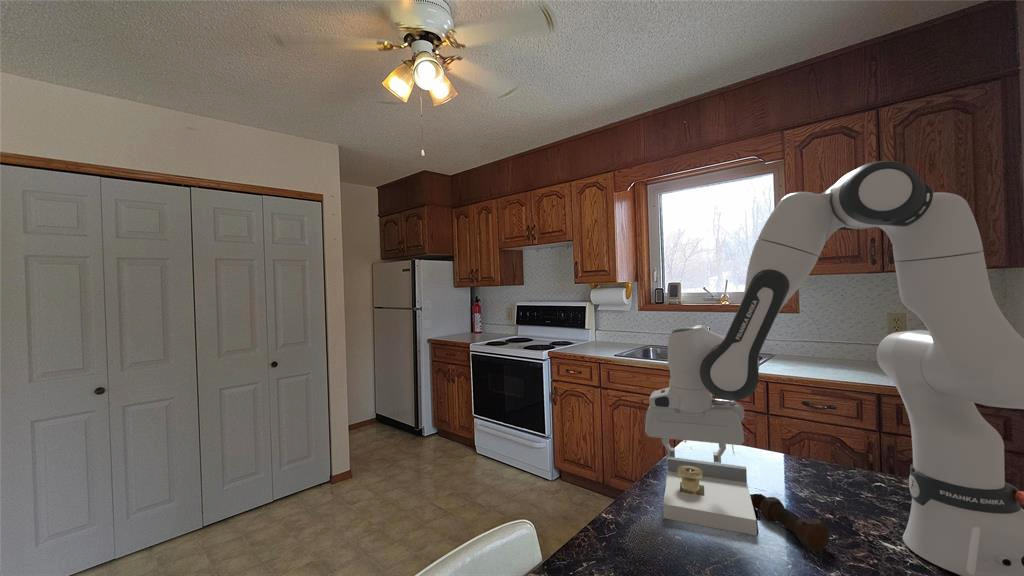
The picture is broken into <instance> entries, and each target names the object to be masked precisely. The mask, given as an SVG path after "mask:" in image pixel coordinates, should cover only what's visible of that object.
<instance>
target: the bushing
mask: <svg viewBox="0 0 1024 576" xmlns="http://www.w3.org/2000/svg"><path fill="white" fill-rule="evenodd" d="M677 471H678V475H679V476H681V477H682V492H683V493H689V494H695V495H700V493H699V479H700V478H702V477H703V471H702V470H701V469H699V468H697V467H693V466H680V467H678V468H677Z"/></svg>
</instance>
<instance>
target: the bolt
mask: <svg viewBox="0 0 1024 576" xmlns="http://www.w3.org/2000/svg"><path fill="white" fill-rule="evenodd" d="M751 501H752V505H753V508H755V509H757V510H758V511H759V512H760V514H761V516H762V517H763V519H765V520H766V521H768V522H769V523H778V524H780V525H781V526H782V527H784V528H785V529H786V530H789V531H790V532H793V534H795V535H796V536H797V538H798V540H799V541H800V544H801V545H802V546H803V548H805V549H806V550H807V551H809V552H821V551H823V550H824V549H826V547H828V545H829V542H830V531H829V529H828V527H827V526H826V524H825V523H823V521H822V520H819V519H818V518H810V519H804V518H803V517H801V516H799V515H797V514H795V513H794V512H793V511H791V510H788V509H787V508H786V507H785V506H784V504H783V503H782V501H781V500H780V499H779V498H777V497H776V496H765V495H763V494H761V493H753V494H752V495H751Z"/></svg>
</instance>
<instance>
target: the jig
mask: <svg viewBox="0 0 1024 576" xmlns="http://www.w3.org/2000/svg"><path fill="white" fill-rule="evenodd" d="M680 466H693V467H697V468H699V469H701V470H702V471H703V477H702V478H700V479H699V493H700V495H695V494H689V493H683V492H682V477H681V476H679V475H678V471H677V468H678V467H680ZM664 489H665V490H664V495H663V503H662V509H663V511H662V512H663V513H662V514H663V519H666V520H672V521H676V522H682V523H686V524H687V523H688V524H692V525H699V526H704V527H707V528H708V527H709V528H715V529H721V530H725V531H730V532H736V533H742V534H746V535H751V536H756V537H757V536H758V533H757V531H758V529H757V518H756V513H755V509H754V506H753V505H752V501H751V498H752V496H751V494H750V490H749V484H748V477H747V466H743V465H742V466H741V465H736V464H727V463H722V462H721V463H714V461H712V462H711V461H705V460H698V459H688V458H681V457H675V458H670V457H668V456H667V475H666V481H665V488H664Z"/></svg>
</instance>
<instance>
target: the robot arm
mask: <svg viewBox="0 0 1024 576" xmlns="http://www.w3.org/2000/svg"><path fill="white" fill-rule="evenodd" d="M877 227H878V228H879V229H881V230H882V231H884V233H885V234H886V235H887V237H888V238H889V240H890V243H891V244H892V254H893V260H894V267H895V273H896V274H895V275H896V280H897V287H898V293H899V297H900V301H901V303H902V305H904V306H905V307H906V309H908V310H909V311H910V312H911V313H913V314H915V315H916V316H917V317H918V318H919V320H921V321H922V323H923V324H924V326H925V328H926V329H927V330H926V329H925V330H924V329H916V330H915V329H913V330H904V331H903V330H902V331H897V332H893V333H890V334H888V335H887V336H885V337H884V338H883V339H882V340H881V341H880V342H879V344H878V346H877V348H876V359H877V360H876V361H877V363H878V365H879V367H880V369H881V370H882V371H883V372H884V374H886V375H887V376H888V377H889V379H890V380H891V381H892V382H893V385H894V386H895V388H896V389H897V392H898V394H899V395H900V398H901V399H902V402H903V406H904V408H905V411H906V413H907V416H908V417H907V418H908V419H909V423H910V431H911V433H910V434H911V445H912V448H911V449H912V463H911V464H910V465H909V466H910V467H909V476H908V478H909V479H908V480H909V481H908V482H909V483H908V484H909V485H908V487H909V492H910V497H911V506H910V513H909V517H908V521H907V525H906V526H905V527H906V528H905V531H904V533H903V534H902V541H903V543H904V544H905V546H907V548H908V549H910V551H912V552H913V553H914V554H916V555H918V556H919V557H921V558H922V559H924V560H926V561H927V562H929V563H932V564H933V565H936V566H938V567H940V568H942V569H944V570H947V571H949V572H951V573H954V574H957V575H959V576H1024V509H1023V508H1022V506H1021V504H1022V505H1023V506H1024V491H1023V490H1022V491H1021V490H1020V489H1019V488H1017V487H1016V486H1014V485H1012V484H1010V483H1009V482H1007V481H1006V479H1005V477H1006V476H1005V475H1006V474H1005V473H1006V472H1005V471H1006V470H1005V444H1004V443H1005V442H1004V439H1003V438H1002V436H1001V434H1000V433H999V432H998V431H997V429H996V428H995V427H994V426H993V425H991V424H990V423H989V422H988V421H986V419H985V418H984V417H983V415H982V414H981V413H980V412H979V410H978V408H977V406H976V405H975V404H978V405H983V406H985V407H994V408H1002V409H1003V408H1004V409H1017V410H1024V338H1023V337H1022V336H1021V335H1020V334H1019V332H1017V331H1016V329H1015V328H1014V327H1013V326H1012V324H1011V323H1010V322H1009V321H1008V320H1007V318H1006V316H1005V315H1004V314H1003V313H1002V310H1001V309H1000V307H999V305H998V304H997V302H996V299H995V297H994V295H993V291H992V289H991V284H990V279H989V275H988V269H987V264H986V258H985V252H984V246H983V242H982V237H981V234H980V230H979V227H978V224H977V221H976V219H975V216H974V213H973V211H972V209H971V207H970V205H969V203H968V201H967V200H966V199H965V198H964V197H962V196H961V195H959V194H955V193H953V192H952V193H951V192H945V191H944V192H940V191H939V192H934V191H933V189H932V188H931V187H930V186H928V185H927V183H926V182H924V181H923V180H922V179H921V177H920V176H919V175H918V174H917V173H916V172H915V170H914V169H912V168H911V167H910V166H907V165H906V164H904V163H901V162H899V161H892V160H879V161H873V162H869V163H866V164H863V165H861V166H859V167H857V168H856V169H855V168H854V170H852V171H850V172H847V173H846V174H845V175H843V176H842V177H841V178H840V179H838V180H837V181H836V182H835V183H834V184H832V185H831V186H830V187H828V188H827V189H826V190H825V191H823V192H821V193H814V192H810V191H795V192H792V193H789V194H786V195H785V196H784V197H782V198H781V199H780V201H779V202H778V203H777V205H776V206H775V207H774V209H773V210H772V212H771V213H770V215H769V216H768V218H767V220H766V221H765V224H764V225H763V227H762V229H761V230H760V233H759V235H758V237H757V240H756V241H755V243H754V246H753V249H752V251H751V255H750V258H749V260H748V261H749V262H748V266H747V270H746V278H745V279H746V280H745V287H744V293H743V297H742V299H741V301H740V305H739V307H738V309H737V312H736V313H735V314H734V317H733V320H732V323H731V324H730V325H729V326H730V327H729V328H728V330H727V332H726V334H725V336H723V335H720V334H718V333H716V332H714V331H712V330H710V329H708V328H707V327H706V326H704V325H701V324H693V325H686V326H683V327H678V328H676V329H674V330H673V331H671V333H670V334H669V337H668V341H667V342H668V343H667V365H668V366H667V367H668V369H669V372H670V373H669V374H670V377H669V381H668V385H669V386H668V387H665V388H661V389H657V390H654V391H653V392H651V394H649V395H650V396H649V399H648V400H649V406H648V407H647V410H646V414H645V420H644V421H645V422H644V425H645V427H644V432H645V433H646V436H648V437H650V438H658V439H659V438H660V439H661V443H662V445H663V447H664V448H665V450H667V458H668V457H670V458H676V449H675V447H672V446H671V444H670V443H669V442H670V441H669V439H671V440H678V441H679V440H680V441H688V442H689V441H690V442H702V443H713V444H718V450H717V451H714V452H712V453H713V455H712V456H713V463H721V464H722V456H723V454H724V452H725V451H726V449H727V445H730V446H731V445H733V446H741V445H743V443H744V442H745V436H744V428H743V425H742V424H743V423H742V421H744V418H745V408H744V406H743V405H742V404H741V403H740V402H737V401H741V400H744V399H746V398H748V397H750V395H752V394H753V393H754V392H755V390H756V389H757V387H758V384H759V372H760V358H759V356H760V353H761V351H762V348H763V346H764V344H765V342H766V340H767V337H768V335H769V333H770V330H771V329H772V327H773V325H774V322H775V319H776V318H777V316H778V314H779V313H780V311H781V310H782V309H783V307H784V306H785V304H786V303H787V302H788V301H789V300H790V299H791V297H793V295H794V294H795V293H796V292H797V291H798V290H799V289H800V287H802V285H803V284H804V282H805V281H806V280H807V278H808V277H809V275H810V273H811V272H812V271H813V269H814V268H815V266H816V264H817V262H818V260H819V257H820V256H821V253H822V251H823V249H824V246H825V245H826V242H827V241H828V240H829V239H830V237H831V236H832V235H833V234H834V233H835V232H836V231H837V230H838V231H839V230H841V231H842V230H845V231H856V230H857V231H858V230H865V229H874V228H877ZM713 396H715V397H716V398H713ZM718 398H719V399H718Z"/></svg>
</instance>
